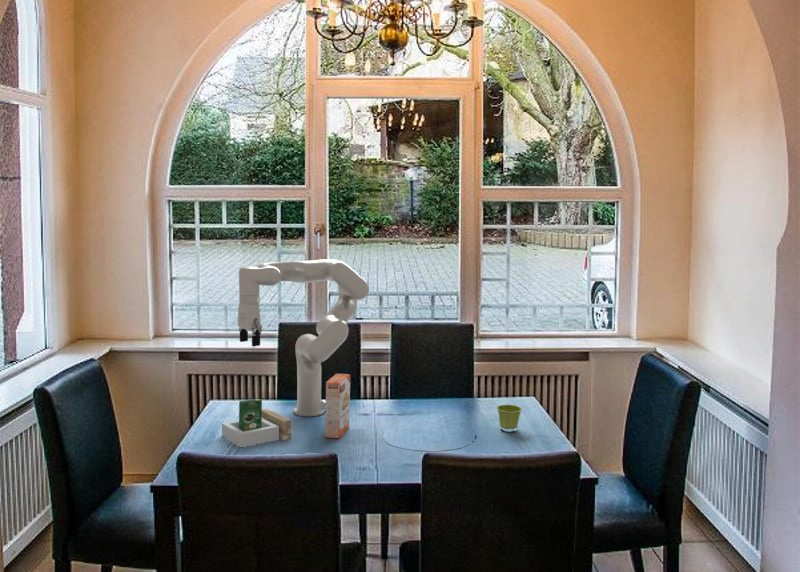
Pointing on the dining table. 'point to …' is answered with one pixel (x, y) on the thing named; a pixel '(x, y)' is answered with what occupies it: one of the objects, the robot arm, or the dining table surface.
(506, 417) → the plant pot
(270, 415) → the wall
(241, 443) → the open-top box
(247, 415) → the coffee box
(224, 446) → the dining table surface
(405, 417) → the dining table surface
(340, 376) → the cracker box
